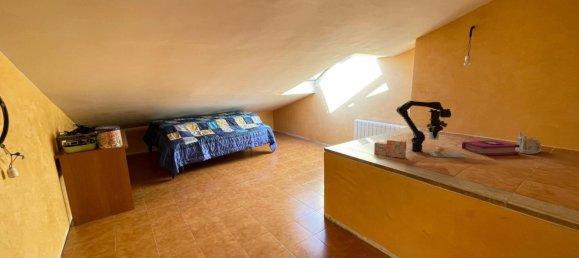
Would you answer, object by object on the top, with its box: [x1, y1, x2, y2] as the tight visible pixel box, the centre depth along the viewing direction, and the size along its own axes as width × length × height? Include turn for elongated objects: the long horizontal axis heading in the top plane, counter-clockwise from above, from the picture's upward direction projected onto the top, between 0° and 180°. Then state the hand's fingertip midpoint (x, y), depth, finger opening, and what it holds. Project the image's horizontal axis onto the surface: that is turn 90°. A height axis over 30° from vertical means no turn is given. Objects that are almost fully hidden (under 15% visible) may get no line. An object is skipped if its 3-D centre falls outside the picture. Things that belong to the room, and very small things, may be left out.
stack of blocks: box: [373, 138, 407, 159], centre depth 182 cm, size 21×6×12 cm, turn 53°
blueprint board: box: [427, 151, 466, 159], centre depth 178 cm, size 20×12×1 cm, turn 74°
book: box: [461, 140, 520, 157], centre depth 186 cm, size 21×28×8 cm
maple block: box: [434, 146, 446, 155], centre depth 179 cm, size 5×5×5 cm
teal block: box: [428, 132, 440, 141], centre depth 190 cm, size 5×5×5 cm
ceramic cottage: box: [515, 131, 543, 155], centre depth 182 cm, size 16×16×15 cm
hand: (433, 137), depth 190 cm, fingers closed on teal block, 5 cm apart
